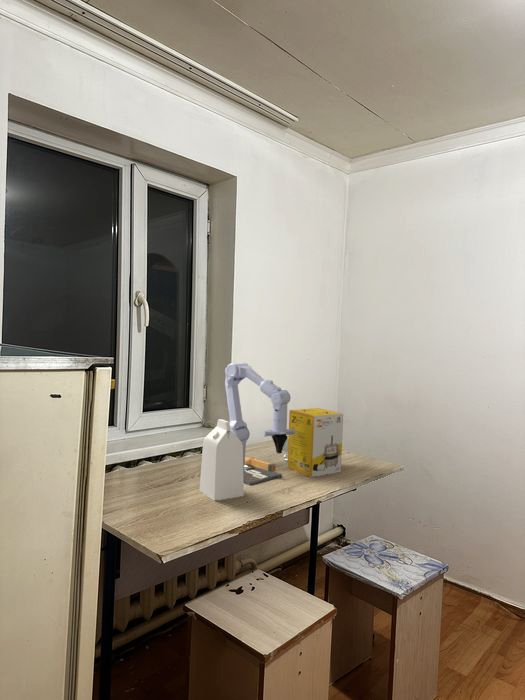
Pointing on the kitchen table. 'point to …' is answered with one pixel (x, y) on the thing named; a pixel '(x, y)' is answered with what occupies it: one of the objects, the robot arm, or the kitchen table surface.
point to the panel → (251, 479)
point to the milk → (222, 464)
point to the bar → (260, 464)
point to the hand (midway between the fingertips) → (278, 452)
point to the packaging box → (315, 441)
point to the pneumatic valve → (286, 449)
